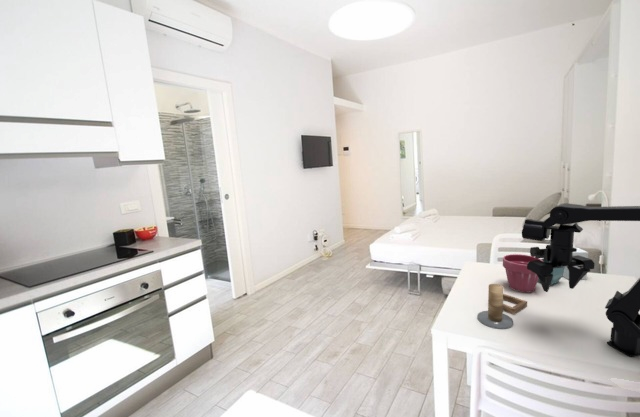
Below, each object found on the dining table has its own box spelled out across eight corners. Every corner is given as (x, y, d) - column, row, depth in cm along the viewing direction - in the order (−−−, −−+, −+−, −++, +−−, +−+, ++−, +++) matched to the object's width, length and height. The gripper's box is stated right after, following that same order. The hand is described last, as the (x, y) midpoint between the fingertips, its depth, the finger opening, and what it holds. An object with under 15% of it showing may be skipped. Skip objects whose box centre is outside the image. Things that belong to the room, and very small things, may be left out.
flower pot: (530, 281, 134) (531, 261, 132) (542, 276, 137) (543, 257, 136) (552, 288, 126) (554, 267, 124) (564, 283, 129) (566, 263, 128)
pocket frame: (527, 306, 113) (527, 301, 113) (514, 314, 109) (514, 309, 108) (501, 297, 121) (501, 292, 121) (488, 304, 116) (488, 299, 116)
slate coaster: (521, 326, 101) (521, 324, 101) (490, 330, 100) (490, 329, 100) (498, 310, 112) (498, 309, 112) (470, 314, 111) (470, 312, 111)
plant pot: (534, 281, 133) (535, 254, 131) (548, 296, 120) (550, 265, 118) (497, 280, 137) (498, 253, 135) (508, 294, 124) (509, 264, 121)
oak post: (505, 319, 105) (505, 286, 103) (497, 323, 103) (498, 290, 101) (492, 314, 109) (493, 282, 107) (485, 318, 107) (485, 286, 105)
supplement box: (587, 280, 131) (589, 252, 129) (567, 279, 132) (569, 252, 130) (576, 273, 138) (578, 247, 136) (558, 273, 139) (559, 247, 137)
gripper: (564, 234, 104) (562, 277, 106) (515, 240, 102) (513, 283, 104) (597, 243, 93) (593, 290, 95) (542, 249, 91) (540, 297, 94)
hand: (558, 289), depth 98 cm, fingers open, 9 cm apart
